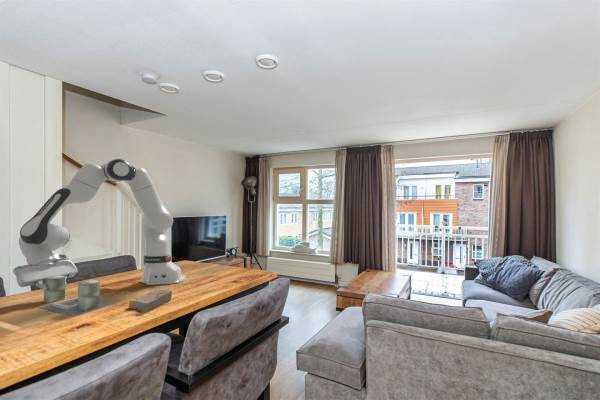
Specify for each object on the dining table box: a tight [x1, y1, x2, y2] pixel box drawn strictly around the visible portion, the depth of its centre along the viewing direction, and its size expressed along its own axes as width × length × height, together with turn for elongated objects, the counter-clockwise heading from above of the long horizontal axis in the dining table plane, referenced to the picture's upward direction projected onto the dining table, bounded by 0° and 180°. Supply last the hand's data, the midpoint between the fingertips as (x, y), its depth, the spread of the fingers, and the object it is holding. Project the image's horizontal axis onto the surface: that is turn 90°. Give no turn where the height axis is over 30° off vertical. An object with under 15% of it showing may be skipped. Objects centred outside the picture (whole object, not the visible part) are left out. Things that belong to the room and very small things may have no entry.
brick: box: [128, 288, 173, 314], centre depth 119 cm, size 17×8×5 cm, turn 169°
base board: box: [37, 296, 117, 318], centre depth 114 cm, size 16×22×2 cm
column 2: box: [77, 279, 101, 311], centre depth 111 cm, size 5×5×10 cm
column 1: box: [43, 275, 67, 304], centre depth 120 cm, size 5×5×10 cm
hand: (55, 288), depth 119 cm, fingers closed on column 1, 5 cm apart
